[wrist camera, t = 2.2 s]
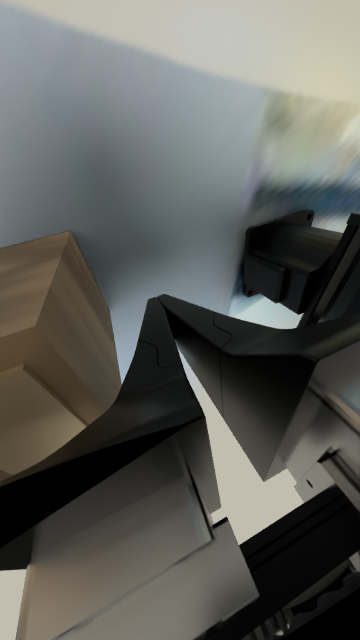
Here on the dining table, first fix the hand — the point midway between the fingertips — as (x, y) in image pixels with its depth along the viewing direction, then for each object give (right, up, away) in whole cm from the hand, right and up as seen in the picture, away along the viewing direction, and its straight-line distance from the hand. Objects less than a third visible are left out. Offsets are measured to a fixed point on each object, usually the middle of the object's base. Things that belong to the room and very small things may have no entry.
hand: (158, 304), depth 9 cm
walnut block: (-7, +2, +4) cm, 8 cm away
